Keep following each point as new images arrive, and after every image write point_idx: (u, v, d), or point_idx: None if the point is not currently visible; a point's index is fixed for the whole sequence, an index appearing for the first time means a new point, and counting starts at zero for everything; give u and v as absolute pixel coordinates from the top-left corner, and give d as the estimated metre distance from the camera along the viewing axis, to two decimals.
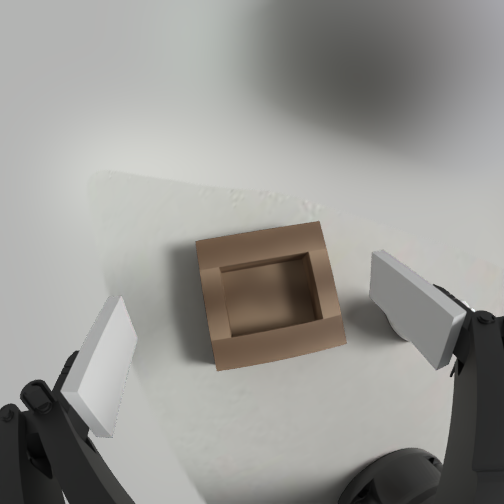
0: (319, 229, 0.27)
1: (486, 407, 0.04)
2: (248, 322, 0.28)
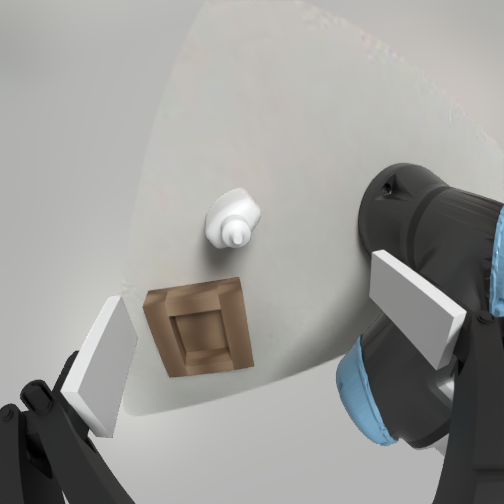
0: (149, 307, 0.32)
1: (486, 407, 0.04)
2: (220, 338, 0.38)
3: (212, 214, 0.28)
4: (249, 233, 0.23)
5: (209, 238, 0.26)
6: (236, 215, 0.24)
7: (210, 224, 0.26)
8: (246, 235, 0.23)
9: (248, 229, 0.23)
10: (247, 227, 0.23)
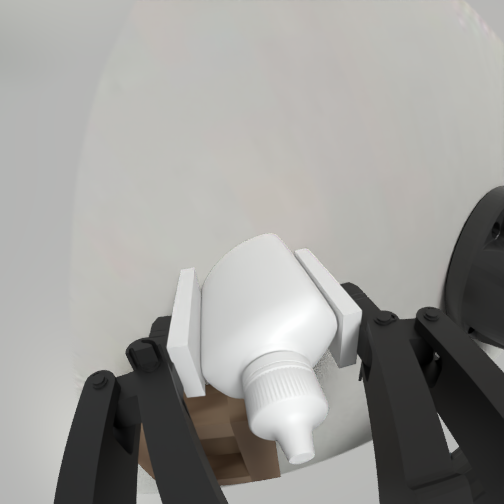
0: None
1: (406, 417, 0.05)
2: (231, 445, 0.22)
3: (215, 316, 0.12)
4: (325, 414, 0.07)
5: (212, 385, 0.10)
6: (286, 357, 0.08)
7: (213, 358, 0.10)
8: (317, 422, 0.07)
9: (324, 408, 0.07)
10: (323, 405, 0.07)
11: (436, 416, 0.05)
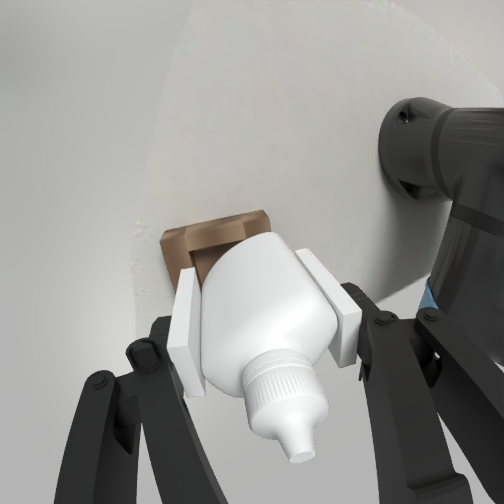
0: (167, 241, 0.30)
1: (406, 417, 0.05)
2: None
3: (215, 315, 0.12)
4: (325, 413, 0.07)
5: (212, 384, 0.10)
6: (286, 355, 0.08)
7: (212, 356, 0.10)
8: (318, 420, 0.07)
9: (325, 407, 0.07)
10: (323, 404, 0.07)
11: (436, 416, 0.05)
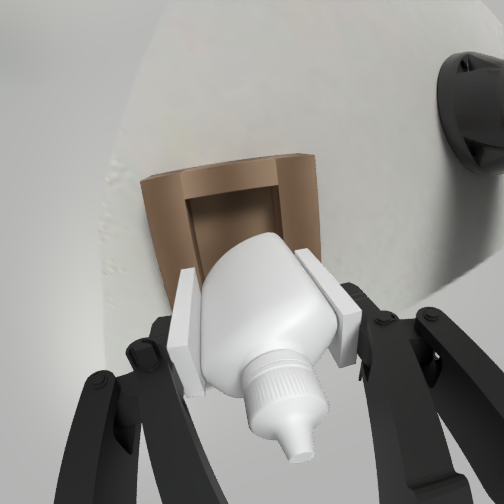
0: (152, 181, 0.18)
1: (406, 417, 0.05)
2: None
3: (215, 315, 0.12)
4: (325, 413, 0.07)
5: (212, 384, 0.10)
6: (286, 356, 0.08)
7: (212, 357, 0.10)
8: (318, 421, 0.07)
9: (324, 407, 0.07)
10: (323, 404, 0.07)
11: (436, 416, 0.05)
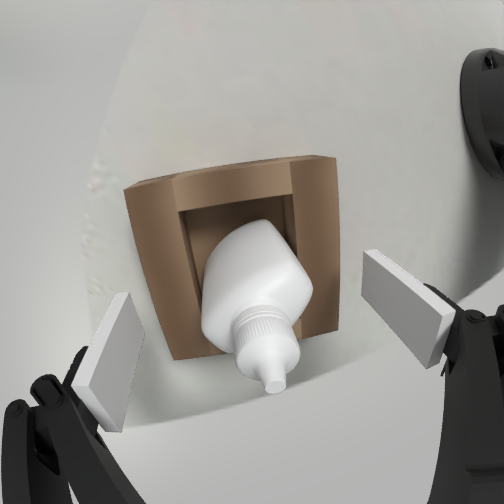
0: (138, 190, 0.14)
1: (478, 407, 0.05)
2: None
3: (214, 284, 0.14)
4: (297, 356, 0.10)
5: (209, 339, 0.13)
6: (266, 309, 0.11)
7: (210, 315, 0.12)
8: (291, 362, 0.10)
9: (295, 349, 0.10)
10: (294, 346, 0.10)
11: (502, 413, 0.04)
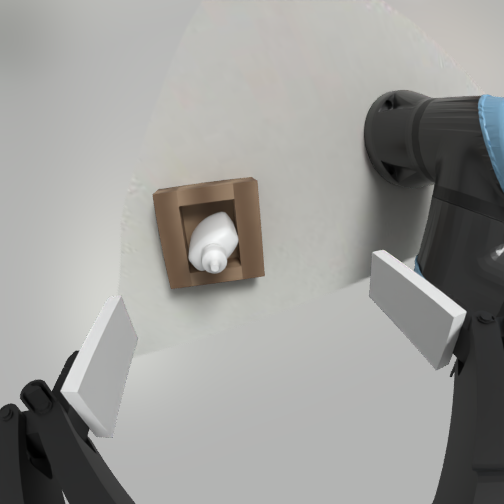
0: (159, 195, 0.31)
1: (486, 407, 0.04)
2: None
3: (195, 239, 0.31)
4: (225, 261, 0.27)
5: (192, 262, 0.29)
6: (215, 244, 0.28)
7: (192, 250, 0.29)
8: (223, 263, 0.26)
9: (224, 257, 0.26)
10: (223, 256, 0.26)
11: None
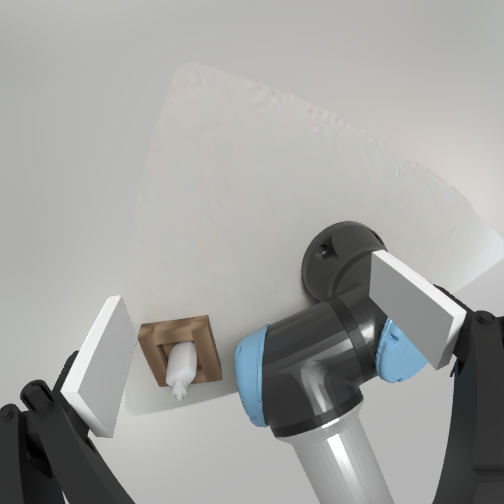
0: (142, 338, 0.43)
1: (486, 407, 0.04)
2: None
3: (169, 368, 0.42)
4: (186, 393, 0.38)
5: None
6: (179, 380, 0.39)
7: (167, 378, 0.41)
8: (184, 394, 0.38)
9: (185, 391, 0.38)
10: (184, 390, 0.38)
11: None
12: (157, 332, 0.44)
